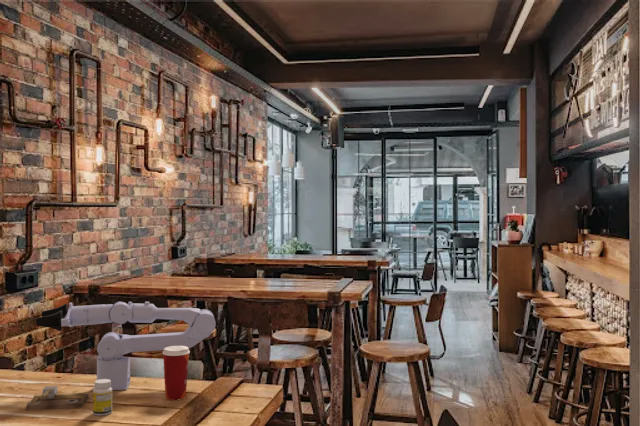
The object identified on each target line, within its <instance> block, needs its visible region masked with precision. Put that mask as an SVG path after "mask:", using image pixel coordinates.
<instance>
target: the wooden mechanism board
mask: <svg viewBox="0 0 640 426" xmlns="http://www.w3.org/2000/svg"><path fill="white" fill-rule="evenodd" d="M89 398H90V397H89V393H86V392H63V393H57V394H55V399H43V393H39V394H38V393H37V394H36V393H35V394H34V395H33V398H32V399H31V400H30V401H29V402H27V404H26V405H25V411H43V410H64V409H67V410H68V409H83V407H84V406H85V404H86V403H87V401H88V399H89Z"/></svg>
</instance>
